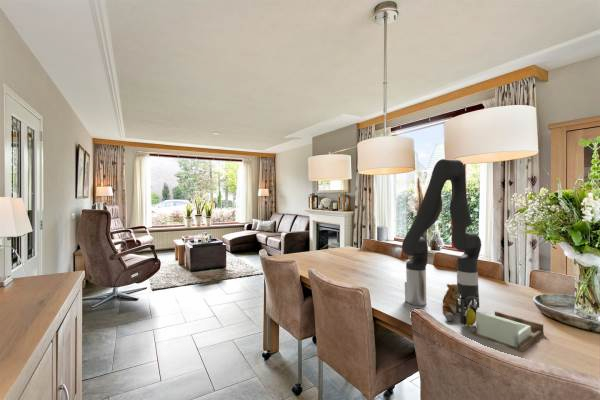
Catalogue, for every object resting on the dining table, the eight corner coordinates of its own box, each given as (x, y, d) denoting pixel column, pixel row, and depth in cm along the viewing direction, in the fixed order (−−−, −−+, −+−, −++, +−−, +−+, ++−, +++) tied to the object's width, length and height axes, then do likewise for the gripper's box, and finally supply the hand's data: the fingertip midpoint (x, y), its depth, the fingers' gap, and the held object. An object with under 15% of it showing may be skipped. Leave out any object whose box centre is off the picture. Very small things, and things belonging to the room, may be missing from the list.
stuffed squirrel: (446, 316, 124) (445, 287, 124) (436, 305, 138) (436, 278, 138) (470, 318, 122) (470, 288, 122) (458, 306, 136) (458, 279, 136)
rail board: (472, 333, 108) (471, 324, 108) (495, 320, 120) (495, 311, 120) (522, 352, 95) (522, 340, 95) (543, 334, 106) (543, 324, 106)
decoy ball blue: (476, 319, 120) (476, 311, 120) (480, 317, 122) (480, 309, 122) (485, 322, 117) (485, 314, 117) (489, 320, 119) (489, 312, 119)
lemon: (470, 323, 117) (470, 304, 117) (479, 329, 112) (479, 309, 112) (457, 323, 117) (457, 304, 117) (465, 329, 111) (465, 309, 111)
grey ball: (443, 320, 120) (443, 312, 120) (447, 318, 122) (447, 310, 122) (451, 323, 117) (451, 315, 117) (456, 321, 119) (455, 313, 119)
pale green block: (476, 333, 107) (475, 312, 107) (491, 324, 114) (491, 304, 114) (517, 347, 96) (516, 324, 96) (531, 336, 103) (530, 315, 103)
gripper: (466, 277, 121) (467, 314, 121) (449, 282, 113) (449, 322, 113) (485, 280, 115) (486, 320, 115) (468, 287, 107) (469, 329, 107)
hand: (468, 321), depth 114 cm, fingers open, 8 cm apart
